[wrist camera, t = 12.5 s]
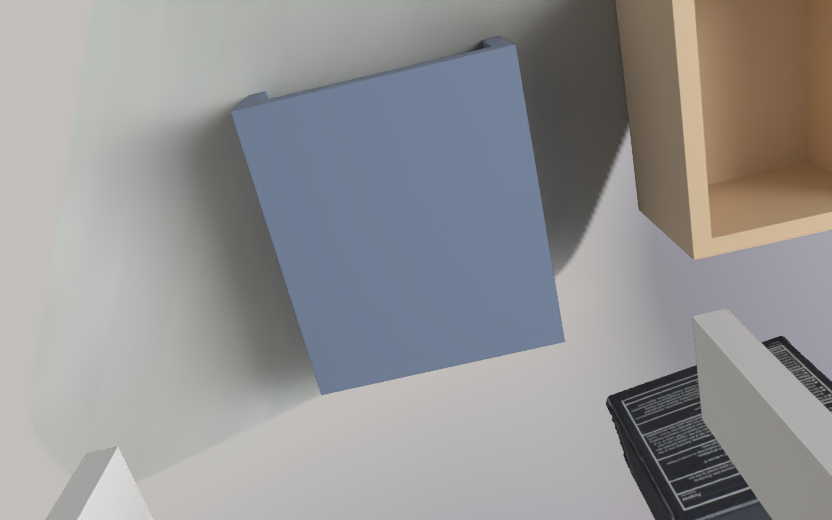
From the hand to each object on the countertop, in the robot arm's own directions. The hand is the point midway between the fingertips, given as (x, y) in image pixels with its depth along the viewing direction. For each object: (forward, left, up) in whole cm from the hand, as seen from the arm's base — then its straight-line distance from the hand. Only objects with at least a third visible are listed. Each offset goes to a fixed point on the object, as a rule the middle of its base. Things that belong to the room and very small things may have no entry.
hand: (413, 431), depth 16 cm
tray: (-2, +16, -21) cm, 26 cm away
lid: (+1, 0, -21) cm, 21 cm away
